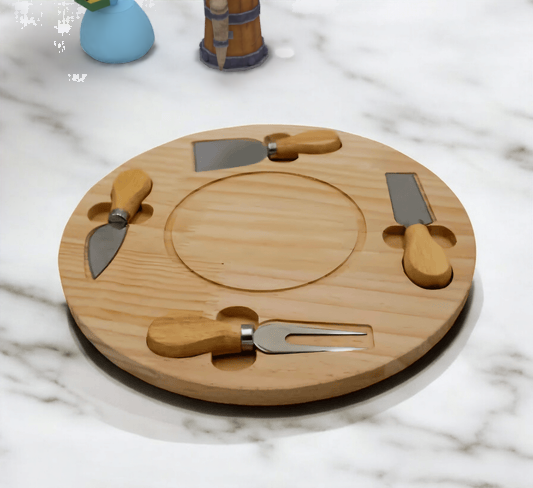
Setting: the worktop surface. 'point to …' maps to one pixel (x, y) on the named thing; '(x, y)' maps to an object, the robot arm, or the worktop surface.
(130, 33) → the sugar bowl
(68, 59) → the worktop surface
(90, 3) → the sponge
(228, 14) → the mug
